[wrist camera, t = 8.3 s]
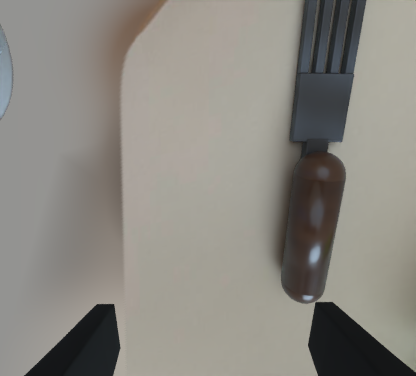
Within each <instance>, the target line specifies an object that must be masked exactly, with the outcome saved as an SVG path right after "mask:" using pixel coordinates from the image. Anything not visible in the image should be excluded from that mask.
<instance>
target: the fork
mask: <svg viewBox="0 0 416 376" xmlns="http://www.w3.org/2000/svg"><path fill="white" fill-rule="evenodd" d="M333 1H334V0H321V4H320V12H319V19H318V27H317V35H316V43H315V50H314V58H313V66H312V73H308V71H309V63H310V55H311V47H312V39H313V31H314V23H315V15H316V7H317V0H305V5H304V14H303V23H302V32H301V41H300V50H299V59H298V68H297V77H296V86H295V95H294V104H293V113H292V122H291V131H290V141H293V142H303V146H302V153H301V160H300V161H299V162H298V163H297V165H296V167H295V170H294V175H293V183H292V191H291V200H290V208H289V216H288V224H287V232H286V241H285V249H284V257H283V265H282V274H281V283H282V286H283V289H284V291H285V292H286V294H287V295H288V296H289V297H290V298H291V299H293V300H295V301H297V302H299V303H305V304H308V303H312V302H315V301H317V300H318V299H319V298H320V297H321V296H322V295H323V292H324V290H325V285H326V280H327V274H328V269H329V264H330V259H331V253H332V248H333V243H334V238H335V233H336V227H337V222H338V217H339V212H340V206H341V201H342V196H343V191H344V185H345V180H346V170H345V167H344V164H343V163H342V161H341V160H340V159H339V158H338V157H337V156H335V155H333V154H331V153H328V152H327V149H328V143H329V142H342V140H343V134H344V128H345V123H346V117H347V111H348V106H349V100H350V95H351V89H352V83H353V78H354V74H353V73H354V67H355V61H356V56H357V50H358V44H359V39H360V33H361V27H362V22H363V16H364V10H365V5H366V0H352V5H351V12H350V18H349V24H348V30H347V36H346V43H345V49H344V55H343V61H342V67H341V73H340V74H338V72H339V65H340V59H341V53H342V47H343V40H344V34H345V28H346V21H347V15H348V9H349V3H350V0H337V2H336V9H335V15H334V22H333V29H332V36H331V43H330V50H329V57H328V64H327V71H326V73H323V71H324V64H325V57H326V50H327V43H328V36H329V29H330V22H331V15H332V8H333Z"/></svg>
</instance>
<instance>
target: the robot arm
mask: <svg viewBox="0 0 416 376" xmlns="http://www.w3.org/2000/svg"><path fill="white" fill-rule="evenodd" d="M308 347H309V350H310V353H311V356H312V359H313V362H314V365H315V368H316V371H317V374H318V376H416V373H415V372H414V371H413V370H412V369H411V368H409V367H408V366H407V365H406V364H404V363H403V362H402V361H401V360H400V359H398V358H397V357H396V356H395V355H394V354H392V353H391V352H390V351H389V350H388V349H386V348H385V347H384V346H383V345H382V344H381V343H379V342H378V341H377V340H376V339H375V338H374V337H372V336H371V335H370V334H369V333H368V332H367V331H365V330H364V329H363V328H362V327H361V326H360V325H359V324H357V323H356V322H355V321H354V320H353V319H352V318H350V317H349V316H348V315H347V314H346V313H345V312H344V311H342V310H341V309H340V308H339V307H338V306H336V305H335V304H334V303H333V302H316V303H315V308H314V314H313V320H312V326H311V331H310V337H309V343H308ZM119 351H120V342H119V335H118V328H117V321H116V314H115V307H114V304H97V305H96V306H95V307H94V308H93V309H92V310H90V312H89V313H88V314H87V315H85V317H84V318H83V319H82V320H81V321H80V322H79V323H78V324H77V325H76V326H75V327H74V328H73V329H72V330H71V331H70V332H69V333H68V334H67V335H66V336H65V337H64V338H63V339H62V340H61V341H60V342H59V343H58V344H57V345H56V346H55V347H54V348H52V349H51V351H49V352H48V353H47V354H46V355H45V356H44V357H43V358H42V359H41V360H40V361H39V362H38V363H37V364H36V365H35V366H34V367H33V368H32V369H31V370H30V371H29V372H28V373H27V374H26V375H24V376H113V374H114V370H115V366H116V362H117V358H118V355H119Z"/></svg>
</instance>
